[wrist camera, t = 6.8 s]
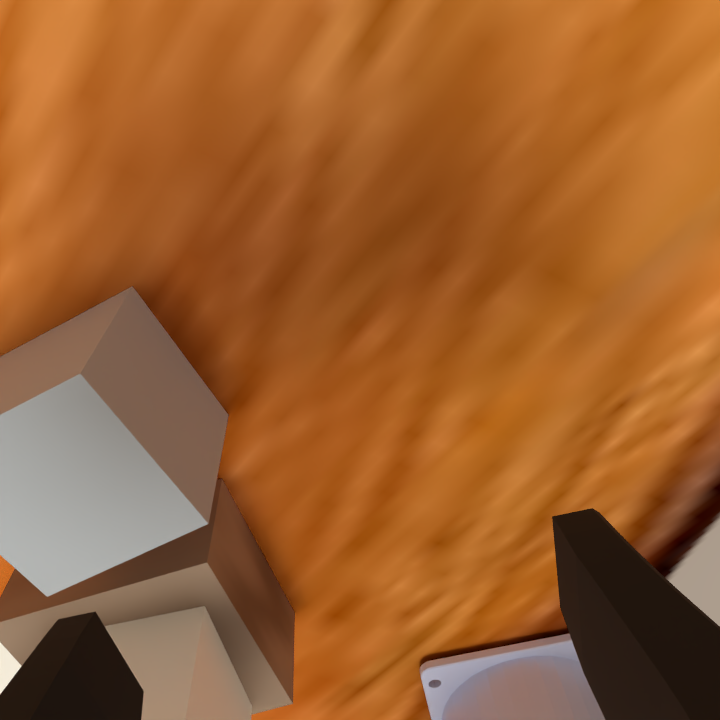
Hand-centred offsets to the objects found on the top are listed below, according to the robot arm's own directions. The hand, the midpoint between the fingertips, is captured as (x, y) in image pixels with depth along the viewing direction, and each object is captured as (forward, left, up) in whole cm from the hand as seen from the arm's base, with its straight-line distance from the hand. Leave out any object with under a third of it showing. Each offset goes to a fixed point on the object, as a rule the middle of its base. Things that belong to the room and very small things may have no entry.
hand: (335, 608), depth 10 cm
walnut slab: (-9, +8, -11) cm, 16 cm away
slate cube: (-1, +7, -11) cm, 13 cm away
